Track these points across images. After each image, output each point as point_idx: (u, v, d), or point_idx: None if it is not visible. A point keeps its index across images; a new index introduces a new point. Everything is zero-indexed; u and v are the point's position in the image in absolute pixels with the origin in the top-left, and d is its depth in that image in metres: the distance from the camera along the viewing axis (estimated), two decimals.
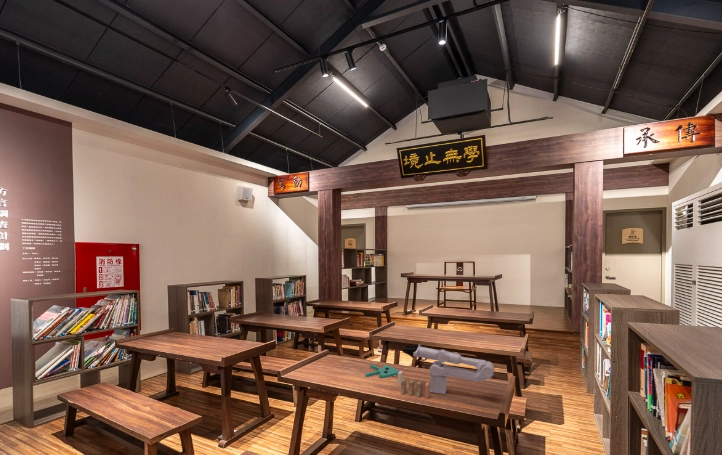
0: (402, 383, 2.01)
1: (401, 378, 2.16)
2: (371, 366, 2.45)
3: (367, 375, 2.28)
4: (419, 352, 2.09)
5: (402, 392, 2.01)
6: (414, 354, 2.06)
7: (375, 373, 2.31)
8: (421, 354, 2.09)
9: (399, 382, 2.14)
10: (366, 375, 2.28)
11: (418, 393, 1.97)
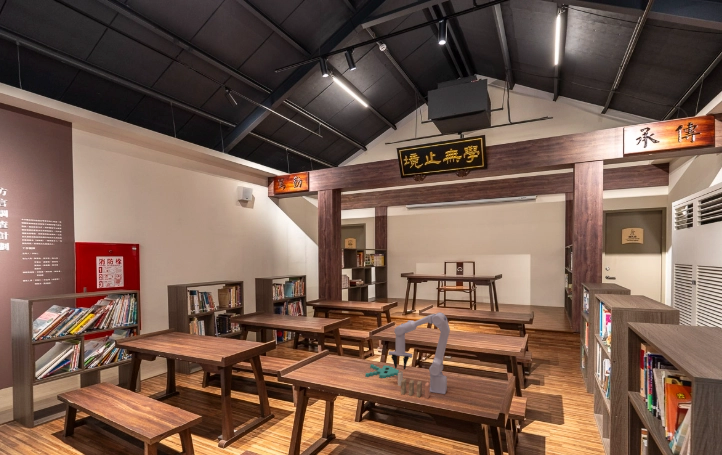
0: (402, 383, 2.01)
1: (401, 378, 2.16)
2: (371, 366, 2.45)
3: (367, 375, 2.28)
4: None
5: (402, 392, 2.01)
6: None
7: (375, 373, 2.31)
8: None
9: (399, 382, 2.14)
10: (366, 375, 2.28)
11: (418, 393, 1.97)
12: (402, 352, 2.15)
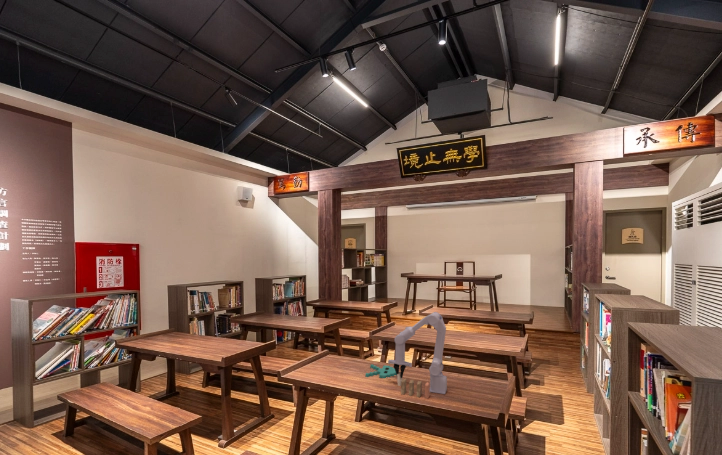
0: (402, 383, 2.01)
1: (401, 379, 2.16)
2: (371, 366, 2.45)
3: (367, 375, 2.28)
4: None
5: (402, 392, 2.01)
6: None
7: (375, 373, 2.31)
8: (395, 358, 2.17)
9: (399, 383, 2.14)
10: (366, 375, 2.28)
11: (418, 393, 1.97)
12: (402, 361, 2.14)
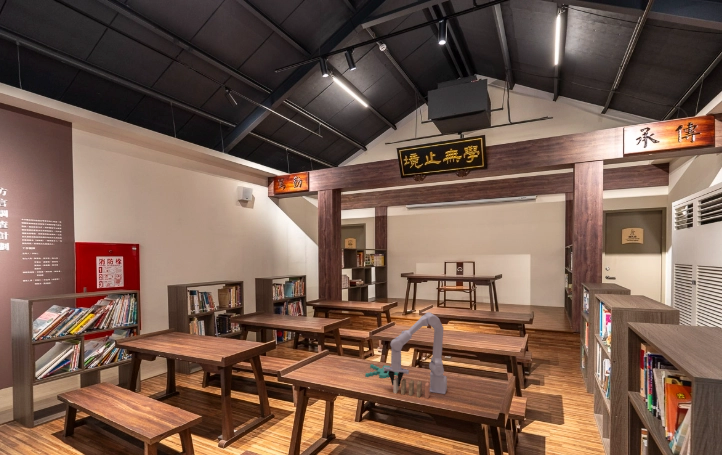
0: (402, 383, 2.01)
1: (397, 385, 2.04)
2: (371, 366, 2.45)
3: (367, 375, 2.28)
4: None
5: (402, 392, 2.01)
6: None
7: (375, 373, 2.31)
8: (391, 365, 2.06)
9: (395, 389, 2.02)
10: (366, 375, 2.28)
11: (418, 393, 1.97)
12: (398, 368, 2.03)
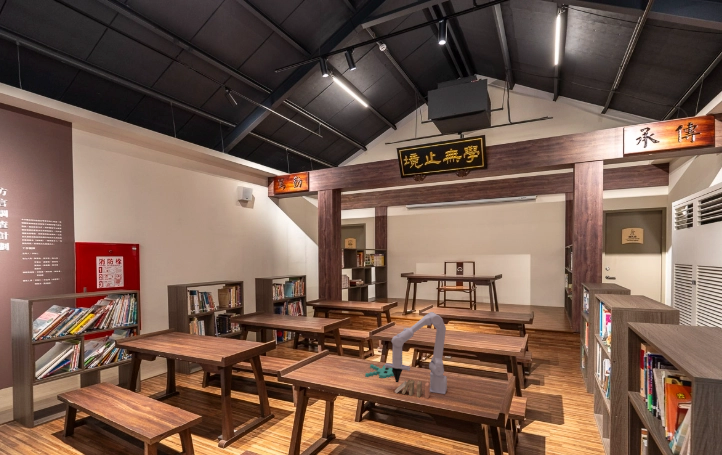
0: (407, 384, 2.00)
1: None
2: (371, 366, 2.45)
3: (367, 375, 2.28)
4: None
5: (403, 392, 2.00)
6: None
7: (375, 373, 2.31)
8: (392, 361, 2.06)
9: (398, 390, 2.02)
10: (366, 375, 2.28)
11: (418, 393, 1.97)
12: (399, 365, 2.03)
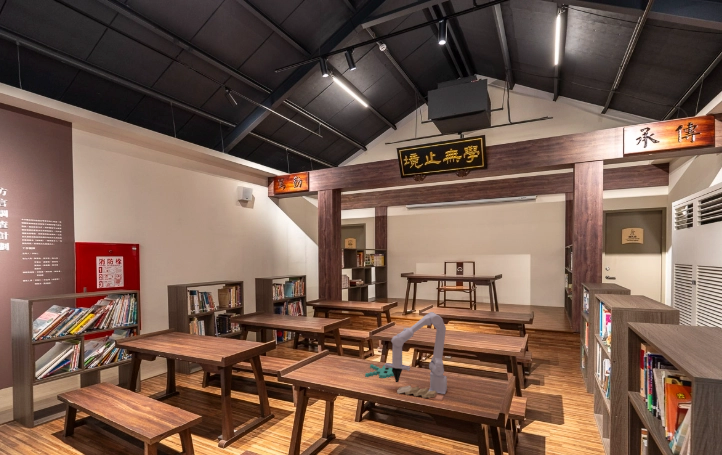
0: (415, 391, 1.98)
1: None
2: (371, 366, 2.45)
3: (367, 375, 2.28)
4: None
5: (407, 393, 2.00)
6: None
7: (375, 373, 2.31)
8: (392, 361, 2.06)
9: (400, 391, 2.01)
10: (366, 375, 2.28)
11: (425, 396, 1.95)
12: (399, 365, 2.03)
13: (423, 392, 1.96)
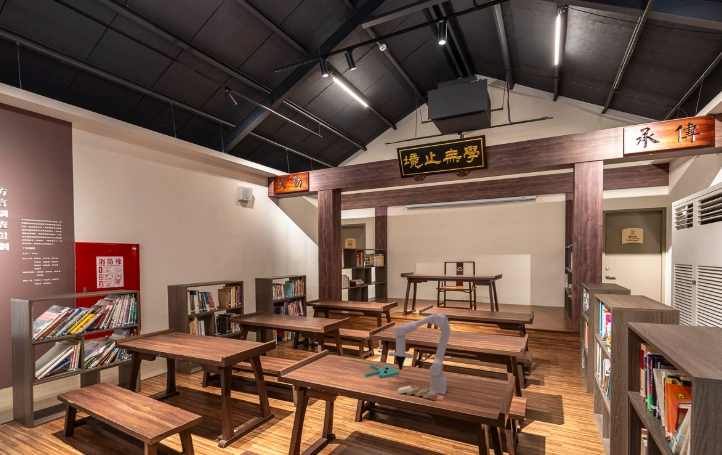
0: (416, 391, 1.98)
1: None
2: (371, 366, 2.45)
3: (367, 375, 2.28)
4: None
5: (408, 393, 2.00)
6: None
7: (375, 373, 2.31)
8: (396, 350, 2.16)
9: (401, 392, 2.01)
10: (366, 375, 2.28)
11: (426, 396, 1.94)
12: (403, 353, 2.13)
13: (424, 392, 1.95)
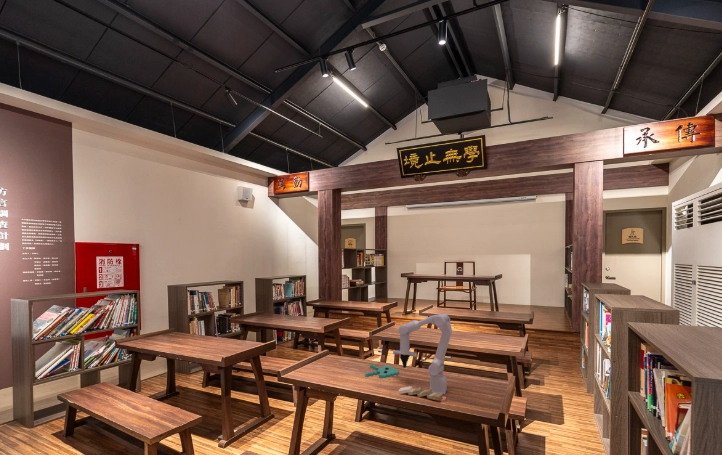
0: (418, 392, 1.97)
1: None
2: (371, 366, 2.45)
3: (367, 375, 2.28)
4: None
5: (410, 393, 1.99)
6: None
7: (375, 373, 2.31)
8: (400, 348, 2.20)
9: (401, 392, 2.01)
10: (366, 375, 2.28)
11: (430, 397, 1.93)
12: (407, 351, 2.17)
13: (426, 393, 1.95)
